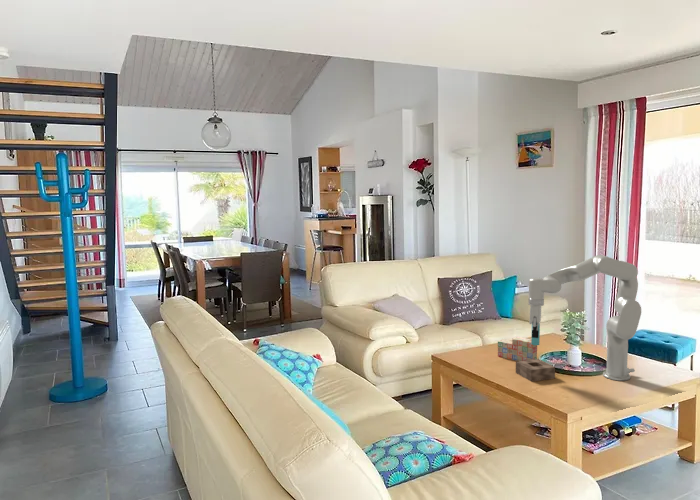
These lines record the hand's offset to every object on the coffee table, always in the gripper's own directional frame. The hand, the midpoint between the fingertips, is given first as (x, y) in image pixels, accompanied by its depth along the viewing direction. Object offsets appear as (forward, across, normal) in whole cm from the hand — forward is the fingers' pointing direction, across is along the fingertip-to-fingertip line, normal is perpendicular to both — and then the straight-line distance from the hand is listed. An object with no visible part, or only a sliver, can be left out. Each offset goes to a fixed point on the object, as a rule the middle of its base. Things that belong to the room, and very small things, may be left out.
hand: (535, 336), depth 276 cm
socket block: (+21, 0, 0) cm, 21 cm away
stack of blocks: (+21, -26, -12) cm, 36 cm away
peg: (+4, 0, 0) cm, 4 cm away
